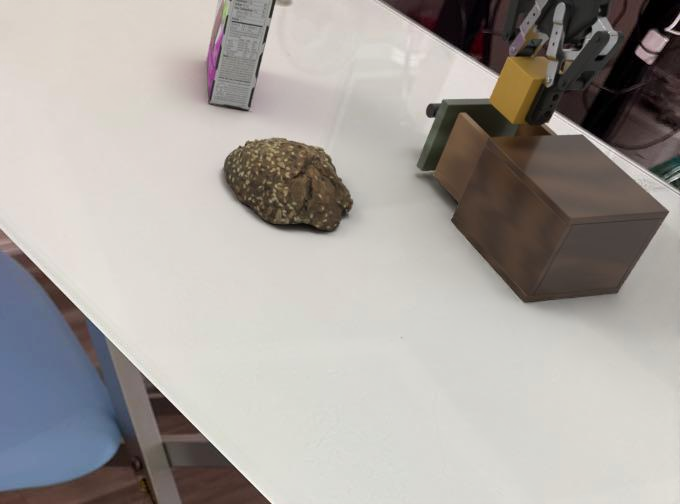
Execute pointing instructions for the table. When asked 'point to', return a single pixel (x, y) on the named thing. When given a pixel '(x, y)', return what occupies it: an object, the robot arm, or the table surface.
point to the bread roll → (288, 182)
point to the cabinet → (556, 216)
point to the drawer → (465, 139)
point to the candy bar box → (237, 50)
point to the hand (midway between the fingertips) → (520, 109)
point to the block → (518, 86)
